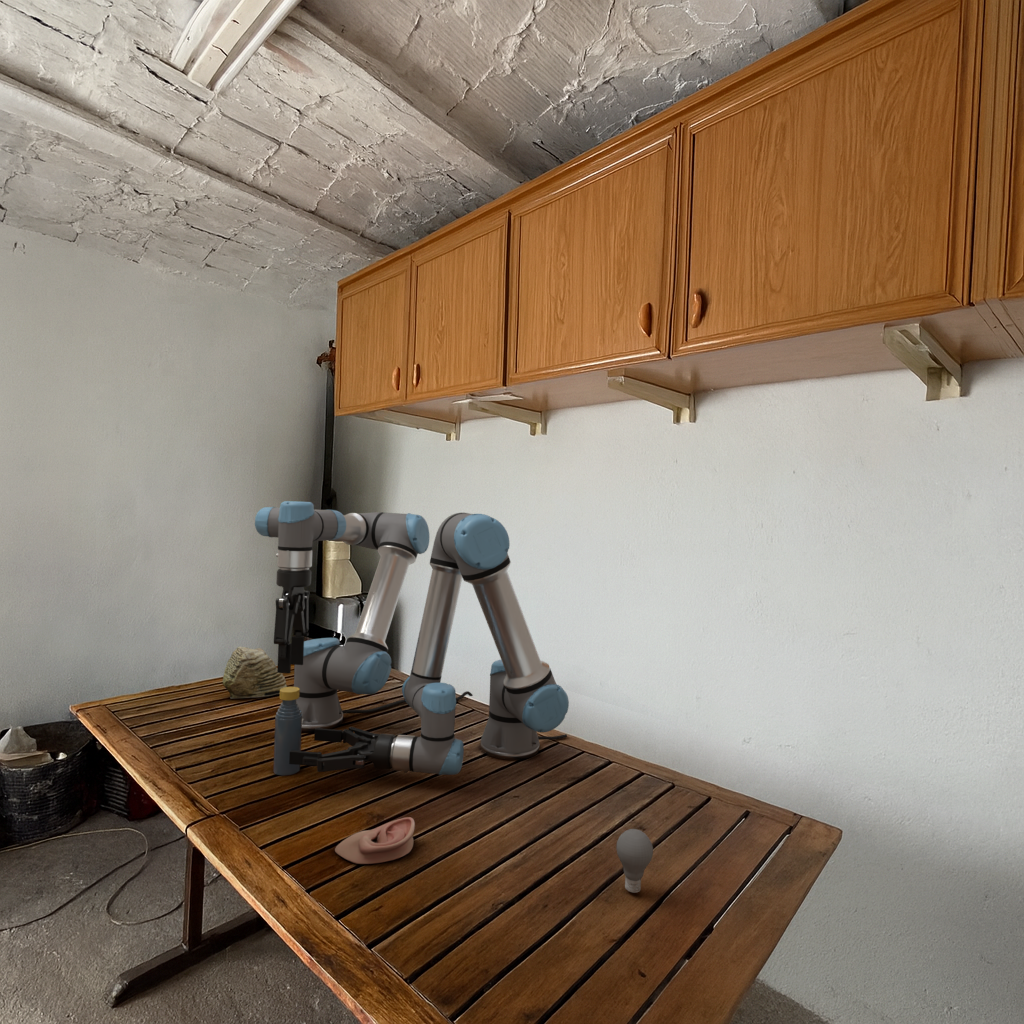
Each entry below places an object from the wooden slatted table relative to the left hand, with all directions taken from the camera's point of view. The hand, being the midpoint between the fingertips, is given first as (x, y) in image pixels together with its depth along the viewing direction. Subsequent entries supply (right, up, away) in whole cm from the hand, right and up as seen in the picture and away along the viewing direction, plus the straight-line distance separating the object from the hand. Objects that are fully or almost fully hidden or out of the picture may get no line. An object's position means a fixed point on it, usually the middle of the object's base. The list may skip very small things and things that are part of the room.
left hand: (290, 668), depth 145 cm
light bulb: (+71, -27, -40) cm, 86 cm away
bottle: (-1, -24, 0) cm, 24 cm away
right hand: (+3, -17, -1) cm, 18 cm away
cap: (0, -5, 0) cm, 5 cm away
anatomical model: (+26, -25, -30) cm, 47 cm away
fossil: (-30, -21, +53) cm, 64 cm away
